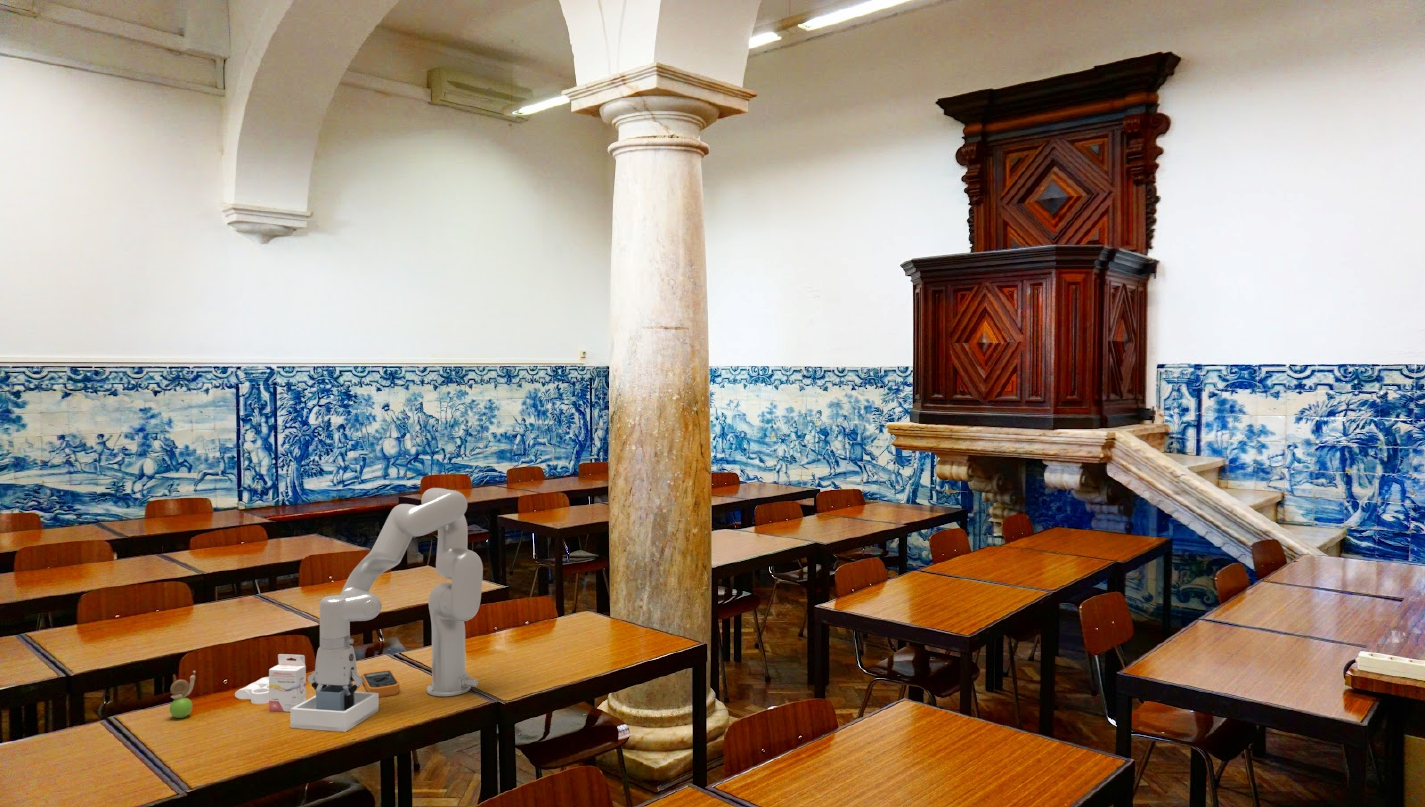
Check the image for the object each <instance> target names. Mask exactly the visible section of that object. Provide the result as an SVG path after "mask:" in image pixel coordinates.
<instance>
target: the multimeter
mask: <svg viewBox="0 0 1425 807" xmlns="http://www.w3.org/2000/svg"><path fill="white" fill-rule="evenodd" d="M361 677H362V678H363V679H364V681H363V683H362V684H363V685H364V687H365V689H366V692H371V693H379V698H382V697H389V696H395V695H397V694H399V692H400V682H399V681H398V679H397V678H396V676H395V675H394V674H393V672H392V670H391V669H389V668H385V669H377V670H369V671H364V672H362V673H361Z"/></svg>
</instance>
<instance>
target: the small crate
mask: <svg viewBox="0 0 1425 807" xmlns="http://www.w3.org/2000/svg"><path fill="white" fill-rule="evenodd" d="M355 692H356V691H355ZM355 692H354V704H353V706H354V705H355ZM315 695H316V709H319V710H333V711H346V710H345V709H344V696H345V695H346V693H345V691H344V689H343V687H342V686H335V685H327V686H326V687H324V688H322V689H321V690H319V691H317V692H315Z"/></svg>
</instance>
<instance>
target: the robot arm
mask: <svg viewBox="0 0 1425 807" xmlns="http://www.w3.org/2000/svg"><path fill="white" fill-rule="evenodd" d="M420 501H421V504H419V505H416V504H409V503H400V504H398V505H396V506H394V507H393V508H392V509H391V511H390V513H389V514H388V516H387V518H386V520H385V522H384V525H383V526H382V529H381V530H380V532H379V535H378V537H377V539H376V541H375V543H374V544H373V546H372V548H371V550H370V551H369V553H368V554H366V556H364V558H363V559H362V560H360V562H359V563H358V564H357V565H356V566H355V568H353V570H352V571H351V573H350V574H349V576H348V577H347V580H346V582H345V583H344V585H343V587H342V590H341V592H340V594H335V595H328V596H324V597H323V598H322V599H320V601H319V647H318V649H317V652H316V658H315V666H314V671H313V672H312V673H310V675H308V677H306V678H307V679H306V680H307V681H308V682H309V683H310V684H311V687H312V688H313V689H314V690H315V693H316V692H317V691H319V690H321V689H322V688H324V687H326V686H328V685H335V686H342V687H343V689H344V691H345V693H346V695H345V696H344V709H345V710H347V709H349V708H351V707H352V706H353V704H354V692H357V690H358V689H359V688H360V686H361V685H362V684H363V681H364V679H363V678H362V675H360V674H359V673H358V667H357V659H356V653H355V649H354V646H353V644H354V641H355V639H354V638H351V632H350V631H351V630H350V629H351V627H350V626H351V625H350V624H351V623H350V622H366V621H370V620H373V619H375V618H376V617H377V616H378V615H379V614H380V613H381V610H382V606H383V605H382V601H381V599H380V598H379V597H378V596H377V595H376V594H374V593H371V592H370V590H371V588H372V586H373V585H374V583H375V582H376V581H377V579H378V578H379V577H380V576H381V575H382V574H384V573H385V572H387V571H388V570H390V569H394V568H395V567H396V566H398V565H399V564H400V563H401V561H402V559H403V557H404V555H405V554H406V551H407V549H408V547H409V544H410V543H411V541H412V539H413V537H421V536H425V535H428V534H431V533H433V532H435V531H437V546H436V559H435V570H436V572H437V574H438V575H440V577H442V578H445V579H449V580H451V582H442V583H439V584H437V585H436V586H434V587H433V588H432V590H431V591H430V593H429V594H428V595H429V596H428V601H427V602H428V610H429V615H430V623H431V675H432V676H431V683H430V684H429V685H427V687H426V693H427V694H429V695H431V696H433V697H453V696H459V695H463V694H465V693H468V692H469V691H470V690H471V687H472V688H477V687H478V684H479V682H478V678H475V677H472V678H471V677H470V674H469V672H466V624H465V622H467V621H469V620H472V619H473V618H474V617H475V616H476V615H477V613H478V611H479V609H480V605H481V600H482V588H483V587H482V586H483V576H484V574H483V573H484V572H483V571H484V565H483V562H482V559H481V557H480V556H479V555H478V554H477V552H475V551H473V550H470V549H468V541H469V540H468V536H469V534H468V531H469V530H468V528H469V527H468V522H467V519H466V516H465V513H466V512H467V509H468V500H467V498H466V496H465V495H464V494H463V493H462V492H460V491H458V490H453V489H447V488H444V487H443V488H442V487H431V488H429V489H427V490H425V491H424V492H423V494H422V495H421V500H420ZM351 644H352V645H351ZM353 682H354V683H353Z"/></svg>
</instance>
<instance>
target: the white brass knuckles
mask: <svg viewBox="0 0 1425 807" xmlns="http://www.w3.org/2000/svg"><path fill="white" fill-rule="evenodd" d="M234 696H235V698H237V699H239V700H251V701H250V702H251V704H254V705H262V704H269V676H265V677H261V678H259V679H258V680H256V681H254V682H251V683H250V684H248V685H246V686H244V687H242V688H240V689H238V690H236V691H235V693H234Z"/></svg>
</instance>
